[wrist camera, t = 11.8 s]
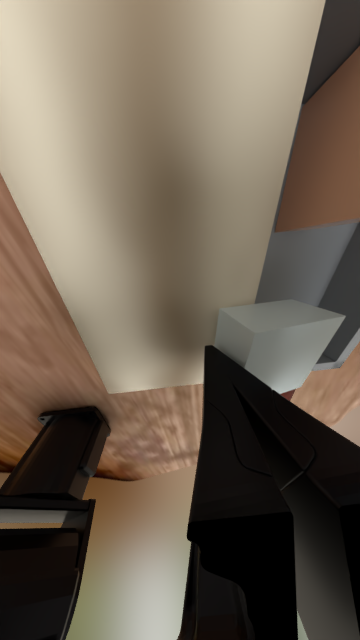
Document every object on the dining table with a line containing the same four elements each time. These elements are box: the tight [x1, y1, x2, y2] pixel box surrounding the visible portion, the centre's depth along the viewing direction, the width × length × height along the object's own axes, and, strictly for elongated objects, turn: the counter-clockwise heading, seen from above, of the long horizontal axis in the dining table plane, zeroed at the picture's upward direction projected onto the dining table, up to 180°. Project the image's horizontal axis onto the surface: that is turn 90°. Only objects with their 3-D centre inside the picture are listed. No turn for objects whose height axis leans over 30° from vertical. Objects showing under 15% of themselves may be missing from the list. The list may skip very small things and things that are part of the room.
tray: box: [254, 0, 360, 371], centre depth 9 cm, size 9×16×4 cm, turn 2°
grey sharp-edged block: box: [214, 299, 346, 394], centre depth 8 cm, size 5×5×2 cm
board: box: [0, 0, 326, 394], centre depth 8 cm, size 10×16×4 cm, turn 2°
